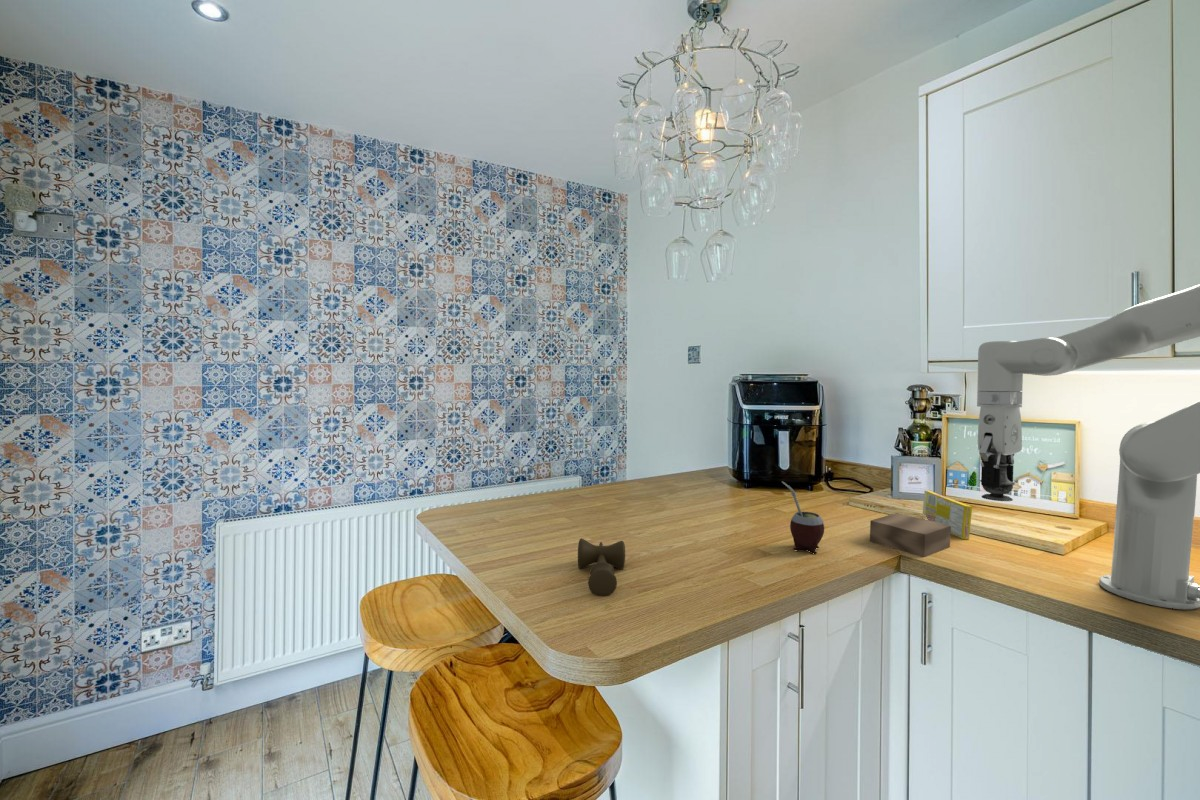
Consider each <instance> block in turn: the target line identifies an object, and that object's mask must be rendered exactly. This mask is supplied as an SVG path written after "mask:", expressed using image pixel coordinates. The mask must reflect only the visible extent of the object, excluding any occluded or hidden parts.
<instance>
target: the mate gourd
mask: <svg viewBox="0 0 1200 800" xmlns="http://www.w3.org/2000/svg"><path fill="white" fill-rule="evenodd" d="M781 483H782V484H783V485H785V487H787V489H788V490H789V491H790V493H791V495H792V497H793V500H794V502H795V505H796V508H797V511H796V512H795V513H794V515H793V516H792V517H791V519H790V526H789V527H790V533H791V537H792V538H793V543H794V547H793V548H792V549H793V551H794V550H804V551H806V550H808V551H810V552H812V553H814V554H813V555H816V554H815V553H817V551H816V550H817V549H816V548H819V549H820V546H819V544H820V542H821V541H822V539H823V536H824V533H825V524H824V520H823V519H822V517H821V515H820V514H818V513H815V512H810V511H802V510H801V507H800V504H799V501H798V499H797V494H796V492H795V490H794V489H793V488H792V487H791V486H790V485H788V484H787V483H786V482H784V481H781ZM808 551H807V552H808ZM810 552H809V553H810ZM812 553H811V554H812ZM817 554H818V553H817Z"/></svg>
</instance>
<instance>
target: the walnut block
mask: <svg viewBox="0 0 1200 800" xmlns="http://www.w3.org/2000/svg"><path fill="white" fill-rule="evenodd" d="M869 527H870V529H869V542H871V543H874V544H878V545H882V546H886V547H888V548H890V549H894V550H899V551H902V552H905V553H908V554H912V555H915V556H919V557H921V558H925V557H928V556H931V555H933V554H936V553H938V552H941V551H944V550H945V549H948V548H950V547H951V535H952V534H951V526H950V525H946V524H942V523H938V522H933V521H929V520H925V519H922V517H920V518H919V517H916V516H912V515H907V514H903V513H899V512H896V513H892V514H889V515H885V516H881V517H879V518H876V519H875V518H874V519H871V520H870V525H869Z"/></svg>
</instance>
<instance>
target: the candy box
mask: <svg viewBox="0 0 1200 800" xmlns="http://www.w3.org/2000/svg"><path fill="white" fill-rule="evenodd" d="M923 495H924V496H923V505H922V515H923V514H924V515H926V517H927V519H928V520H929V521H933V522H938V523H942V524H946V525H950V526H951V534H950V535H953V536H955V537H957V538H959V539H961V540H970V536H971V535H970V532H971V523H972V513H973V512H972V511H973V506H972V505H969V504H966V503H965V502H961V501H958V500H957V499H953V498H952V497H948V496H945V495H942V494H939V493H936V492H934V491H931V490H924V493H923Z"/></svg>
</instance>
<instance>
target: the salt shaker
mask: <svg viewBox="0 0 1200 800" xmlns="http://www.w3.org/2000/svg"><path fill="white" fill-rule="evenodd" d="M990 452H991V453H997V452H996V451H990ZM993 459H994V460H995V457H993ZM1007 466H1008V464H1007V463H1006V455H1002V454H1001V456H1000V462H999V468H1000V469H1001V479H1000V487H999V488H995V487H988V486H983V485H981V487H982V488H983V490H984V491H985V492H987V493H984V494H983V495H981V498H982V499H985V500H989V501H996V502H1011V501H1014V499H1013V498H1012V497H1010V496H1008V495H1007V494H1009V493H1011V492H1012V490H1013V489H1014V485H1016V483H1015V482H1014V481H1013V482H1011V481H1009V480H1008V478H1007V475H1006V468H1007ZM979 482H980V483H981V479H980V480H979Z"/></svg>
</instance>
